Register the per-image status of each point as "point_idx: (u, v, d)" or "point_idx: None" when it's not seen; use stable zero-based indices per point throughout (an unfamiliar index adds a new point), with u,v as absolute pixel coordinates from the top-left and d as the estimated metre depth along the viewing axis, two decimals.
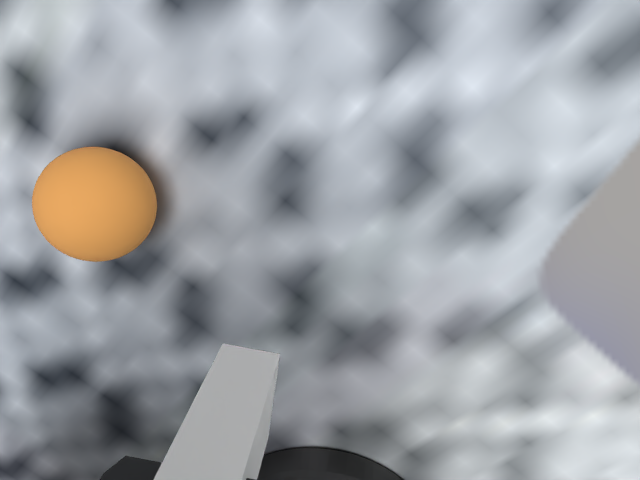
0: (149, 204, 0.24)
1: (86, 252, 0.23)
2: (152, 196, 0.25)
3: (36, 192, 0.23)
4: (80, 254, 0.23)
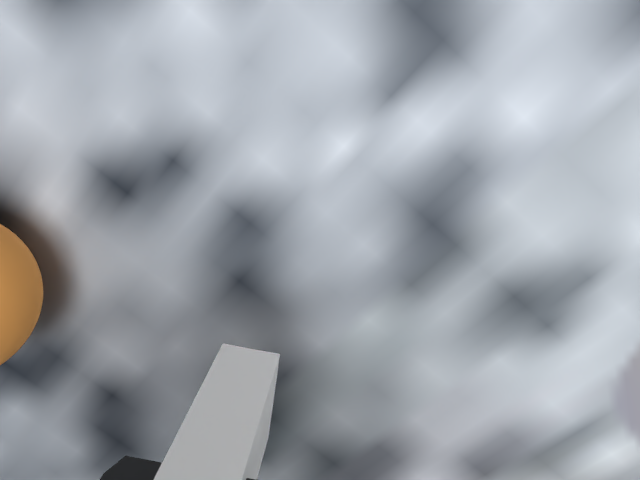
0: (20, 299, 0.16)
1: None
2: (28, 284, 0.16)
3: None
4: None
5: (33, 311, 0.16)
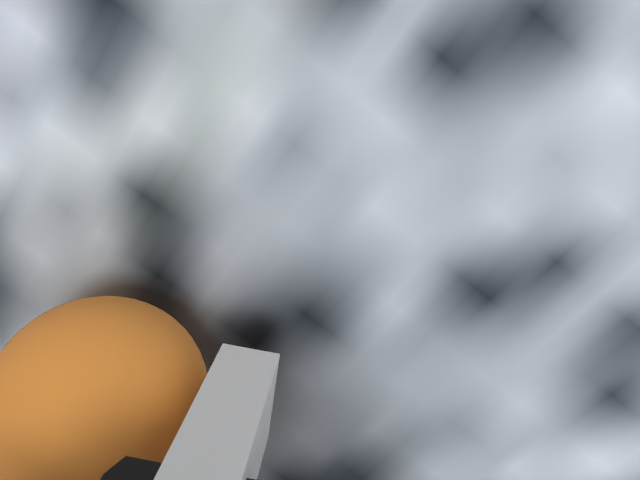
0: (23, 450, 0.11)
1: None
2: (46, 444, 0.11)
3: None
4: None
5: None
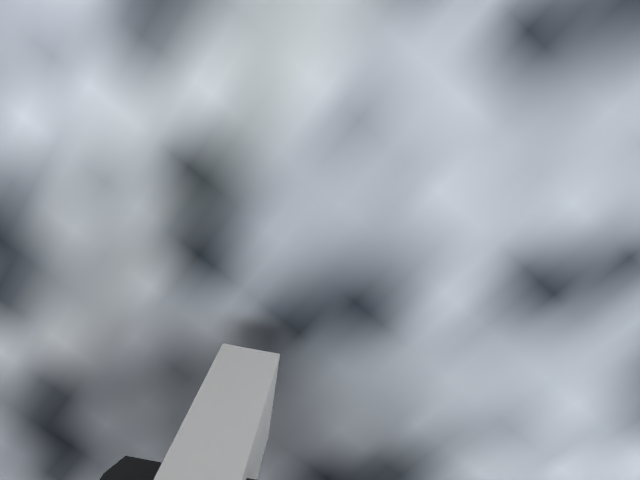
0: None
1: None
2: None
3: None
4: None
5: None
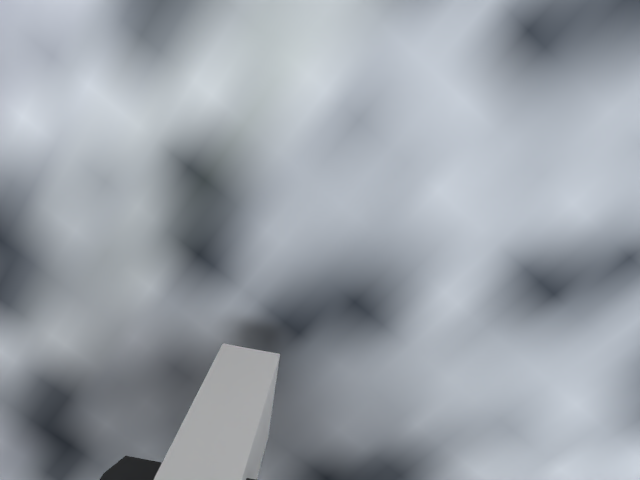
0: None
1: None
2: None
3: None
4: None
5: None
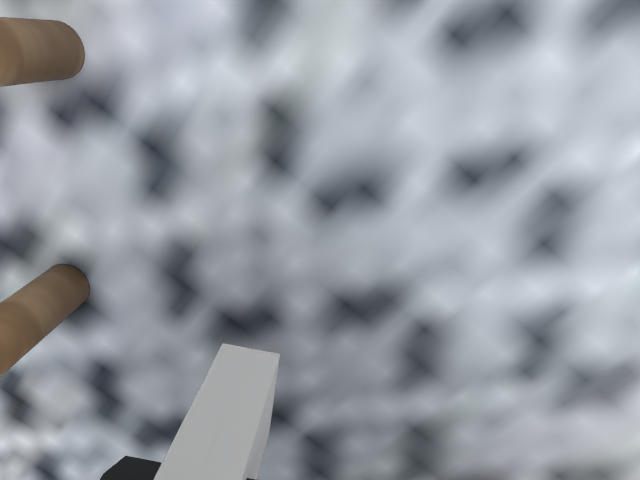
0: None
1: None
2: None
3: None
4: None
5: None
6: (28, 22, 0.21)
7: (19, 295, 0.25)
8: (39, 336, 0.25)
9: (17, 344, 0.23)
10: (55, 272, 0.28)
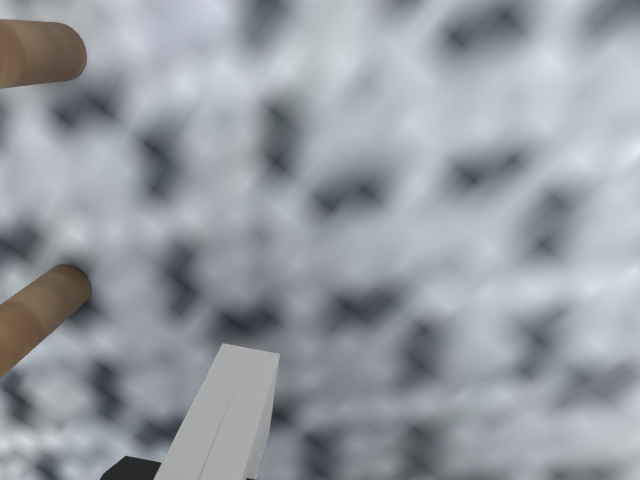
0: None
1: None
2: None
3: None
4: None
5: None
6: (31, 24, 0.21)
7: (21, 295, 0.25)
8: (40, 336, 0.25)
9: (19, 344, 0.23)
10: (57, 273, 0.28)
